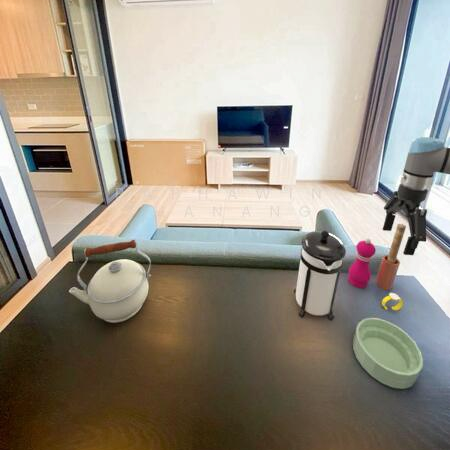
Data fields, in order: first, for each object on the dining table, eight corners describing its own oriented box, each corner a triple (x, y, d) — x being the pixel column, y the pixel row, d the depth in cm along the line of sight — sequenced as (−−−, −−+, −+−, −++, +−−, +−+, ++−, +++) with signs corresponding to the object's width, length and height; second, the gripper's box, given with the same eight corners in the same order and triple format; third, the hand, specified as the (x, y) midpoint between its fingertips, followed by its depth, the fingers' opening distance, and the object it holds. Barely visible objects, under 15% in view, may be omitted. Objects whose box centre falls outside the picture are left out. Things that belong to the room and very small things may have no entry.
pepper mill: (350, 288, 91) (360, 244, 84) (344, 274, 98) (354, 232, 90) (371, 291, 90) (383, 246, 83) (363, 276, 96) (375, 234, 89)
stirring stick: (384, 281, 94) (401, 223, 84) (389, 286, 91) (407, 227, 82) (378, 282, 93) (395, 224, 84) (383, 287, 91) (401, 227, 82)
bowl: (383, 327, 77) (388, 313, 75) (431, 382, 63) (438, 367, 61) (341, 337, 74) (344, 323, 72) (380, 397, 60) (386, 381, 58)
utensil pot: (383, 279, 95) (391, 254, 91) (395, 289, 91) (403, 263, 86) (372, 281, 94) (379, 256, 90) (383, 291, 90) (391, 265, 85)
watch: (396, 306, 84) (401, 293, 82) (401, 313, 81) (406, 300, 79) (379, 305, 84) (383, 292, 82) (383, 312, 82) (387, 299, 80)
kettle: (153, 277, 96) (146, 223, 87) (156, 318, 79) (148, 256, 70) (82, 294, 88) (66, 236, 79) (69, 342, 72) (48, 276, 63)
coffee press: (346, 308, 83) (365, 234, 72) (317, 333, 75) (333, 254, 64) (305, 276, 96) (315, 209, 86) (276, 295, 88) (284, 223, 77)
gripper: (382, 171, 90) (369, 221, 97) (427, 204, 67) (406, 265, 74) (403, 172, 89) (389, 222, 97) (457, 205, 66) (432, 267, 73)
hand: (396, 241), depth 85 cm, fingers open, 13 cm apart
